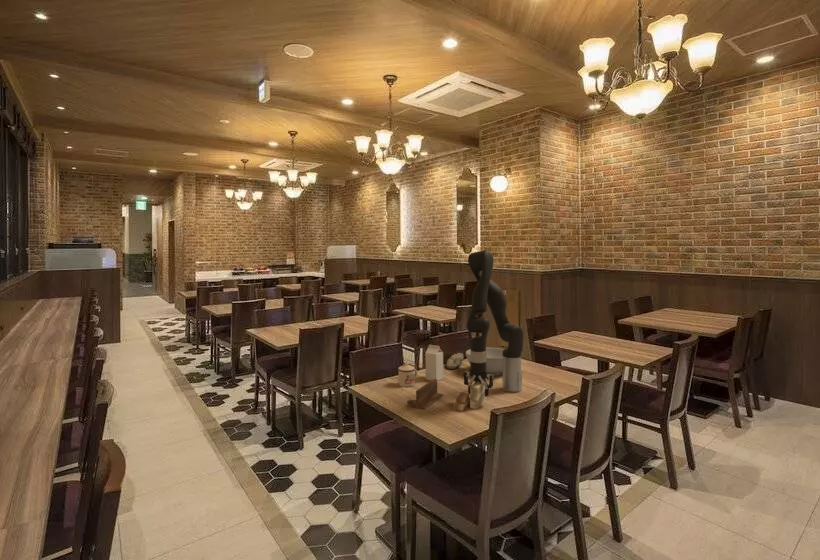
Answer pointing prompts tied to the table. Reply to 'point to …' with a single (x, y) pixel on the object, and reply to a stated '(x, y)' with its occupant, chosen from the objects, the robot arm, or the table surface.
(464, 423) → the table surface
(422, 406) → the rack
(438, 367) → the milk carton
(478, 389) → the pale wooden block
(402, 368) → the teacup with lid
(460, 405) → the offcut stack
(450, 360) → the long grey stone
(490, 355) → the decorative bowl
